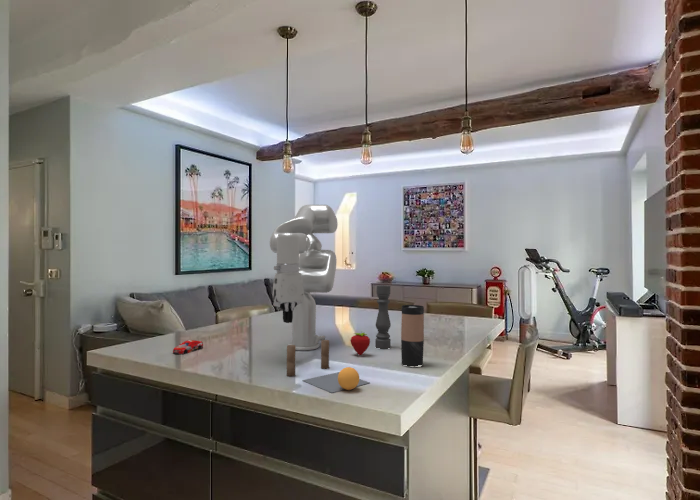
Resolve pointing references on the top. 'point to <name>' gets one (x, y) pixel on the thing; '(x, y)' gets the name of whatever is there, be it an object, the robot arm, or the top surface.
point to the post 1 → (291, 360)
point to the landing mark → (330, 382)
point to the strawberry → (360, 342)
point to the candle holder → (383, 318)
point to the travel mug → (412, 335)
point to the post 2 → (324, 354)
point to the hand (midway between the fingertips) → (287, 322)
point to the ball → (348, 378)
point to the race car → (188, 347)
